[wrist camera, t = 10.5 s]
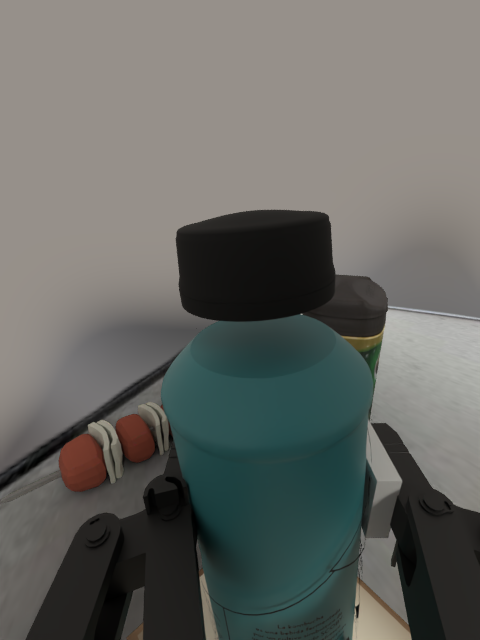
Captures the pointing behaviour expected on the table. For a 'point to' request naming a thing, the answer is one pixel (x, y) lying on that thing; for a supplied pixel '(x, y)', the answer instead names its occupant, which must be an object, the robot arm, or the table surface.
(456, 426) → the table surface
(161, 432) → the skewer
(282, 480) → the beverage bottle
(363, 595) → the walnut pedestal
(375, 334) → the coffee jar
